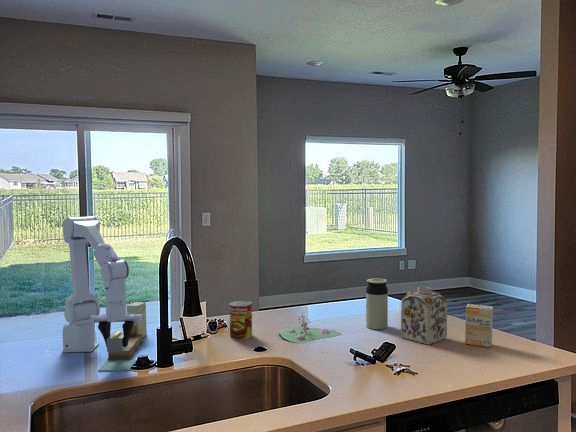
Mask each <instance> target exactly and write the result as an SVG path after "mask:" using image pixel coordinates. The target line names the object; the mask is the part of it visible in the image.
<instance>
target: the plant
mask: <svg viewBox="0 0 576 432" xmlns="http://www.w3.org/2000/svg"><path fill="white" fill-rule="evenodd" d="M303 313H304V312H301V314H303ZM305 317H306V316H305V315H301V317H298V323H300V325H301V326H296V325H295V326H291V327H287V328H285V329H281V330H280V331H278V332H277V333H278V335H279V336H281V338H282V339H284V340H285V341H287V342H288V341H289V342H290V343H293V342H294V343H295V344H303V343H306V342H311V341H315V340H320V339H325V338H332V337H336V336H340V335H342V334H341V333H340V332H337V331H335V330H336V329H332V330H329V329H330V328H322V329H320V328H319V327H312V328H309V326H308V323H311V320H310V321H309V320H308V322H307V319H306V318H305ZM294 343H293V344H294Z"/></svg>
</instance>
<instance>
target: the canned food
mask: <svg viewBox="0 0 576 432" xmlns="http://www.w3.org/2000/svg"><path fill="white" fill-rule="evenodd" d="M252 305H253V302H251V301H249V300H236V301H231V302H229V338H230V339H231V340H249V339H250V338H253V309H252V308H253V306H252Z"/></svg>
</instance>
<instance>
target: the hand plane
mask: <svg viewBox="0 0 576 432" xmlns="http://www.w3.org/2000/svg"><path fill="white" fill-rule="evenodd" d="M143 343H144V341H143V338H142V334H137V326H133V327H132V330H131V332H130V336H129V340H128V346H127V347H126V348H125V350H124V351H123V352H107V360H106V361H108V360H133V357H134V356H135V355H136V353H137V352H138V350H140V347H142V345H143Z"/></svg>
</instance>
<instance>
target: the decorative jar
mask: <svg viewBox="0 0 576 432" xmlns="http://www.w3.org/2000/svg"><path fill="white" fill-rule="evenodd" d="M447 335H448V301H447V299H445V297H444V296H443V295H441V293H440V292H437V291H432V288H431V287H428V286H418V287H417V288H416V290H412V291H408V292H407V293H406V294H405V295H404V297H403V298H402V299H401V310H400V337H401V339H404V338H405V339H404V340H408V339H409V340H408V341H411V340H413V341H412V342H415V341H417V342H416V343H418V342H421V343H420V344H422V343H424V344H423V345H425V344H428V345H427V346H431V345H433V344H432V343H434V344H436V343H439V342H441V341H444V340H447V337H448V336H447ZM443 339H444V340H443ZM438 341H439V342H438ZM435 342H436V343H435ZM430 344H431V345H430Z"/></svg>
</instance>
